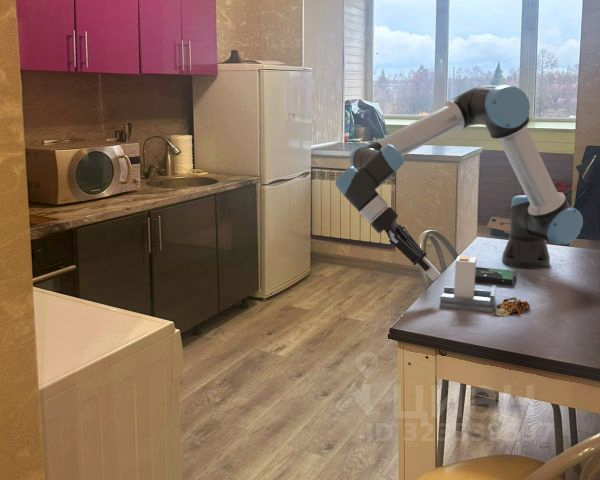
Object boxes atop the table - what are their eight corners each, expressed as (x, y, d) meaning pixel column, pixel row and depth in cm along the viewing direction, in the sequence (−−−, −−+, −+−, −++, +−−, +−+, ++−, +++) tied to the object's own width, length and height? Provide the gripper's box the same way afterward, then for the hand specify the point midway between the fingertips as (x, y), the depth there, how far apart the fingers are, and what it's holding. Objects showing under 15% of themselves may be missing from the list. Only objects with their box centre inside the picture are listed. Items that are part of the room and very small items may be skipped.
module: (474, 294, 182) (476, 255, 180) (472, 301, 177) (474, 261, 174) (456, 293, 184) (458, 254, 181) (453, 299, 178) (455, 259, 176)
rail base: (495, 298, 184) (496, 284, 183) (493, 312, 173) (494, 297, 172) (444, 293, 188) (445, 280, 187) (439, 307, 177) (440, 292, 176)
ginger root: (487, 315, 172) (488, 302, 171) (508, 304, 181) (509, 291, 180) (511, 321, 168) (512, 308, 167) (532, 309, 176) (533, 297, 175)
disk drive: (462, 283, 200) (513, 288, 195) (462, 274, 200) (513, 279, 194) (467, 274, 209) (515, 278, 204) (467, 265, 209) (516, 270, 203)
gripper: (374, 218, 190) (429, 279, 189) (364, 227, 178) (423, 292, 177) (393, 202, 187) (449, 263, 186) (384, 210, 175) (444, 275, 174)
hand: (436, 277), depth 181 cm, fingers closed
